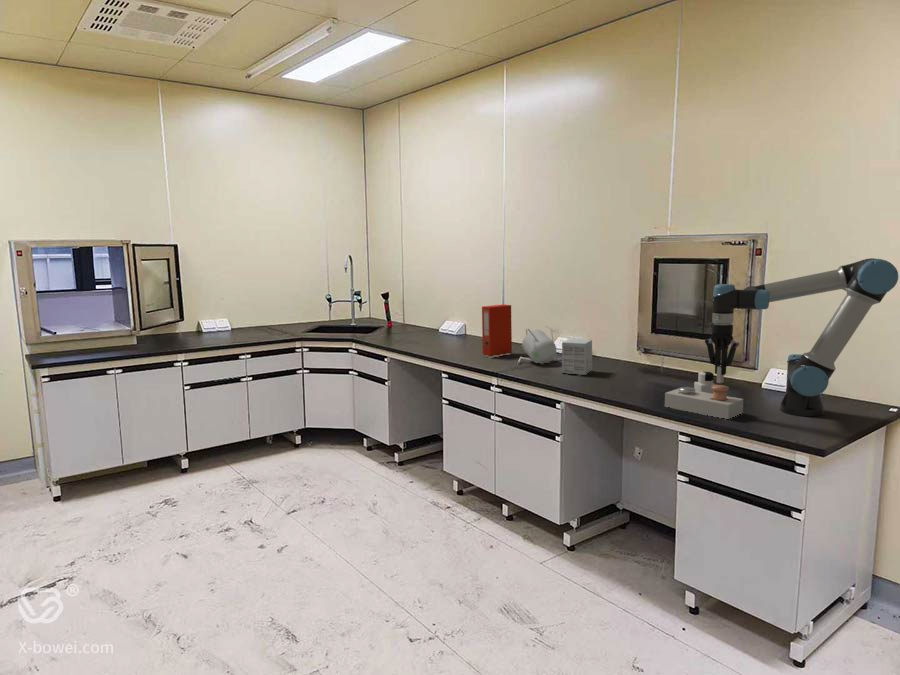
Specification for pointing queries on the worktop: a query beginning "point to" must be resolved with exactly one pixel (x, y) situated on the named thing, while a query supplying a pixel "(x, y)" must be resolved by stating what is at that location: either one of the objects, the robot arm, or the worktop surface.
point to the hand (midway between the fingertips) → (719, 382)
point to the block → (704, 404)
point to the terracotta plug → (720, 392)
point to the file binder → (496, 329)
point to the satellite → (539, 346)
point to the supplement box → (577, 356)
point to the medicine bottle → (704, 382)
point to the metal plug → (687, 390)
